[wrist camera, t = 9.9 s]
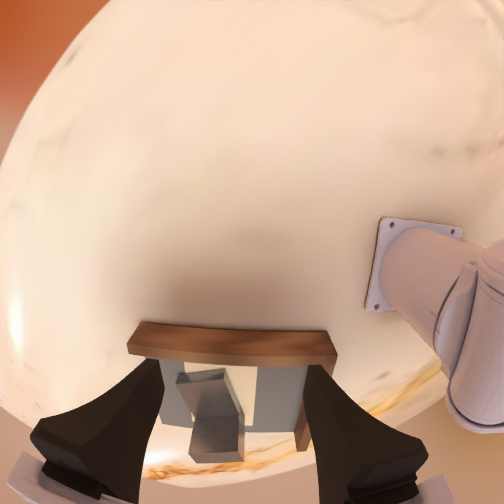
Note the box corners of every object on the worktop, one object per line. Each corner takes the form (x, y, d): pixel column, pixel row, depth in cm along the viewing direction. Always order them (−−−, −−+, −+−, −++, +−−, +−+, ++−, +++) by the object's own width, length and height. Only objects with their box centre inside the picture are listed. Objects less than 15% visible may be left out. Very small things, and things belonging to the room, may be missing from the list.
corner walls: (327, 331, 22) (337, 354, 19) (302, 428, 26) (306, 451, 22) (140, 322, 22) (126, 343, 18) (162, 421, 25) (156, 442, 22)
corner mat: (327, 331, 22) (328, 334, 21) (302, 428, 26) (302, 431, 25) (140, 322, 22) (138, 324, 21) (162, 421, 25) (162, 424, 25)
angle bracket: (244, 414, 24) (244, 461, 18) (203, 419, 24) (196, 463, 19) (224, 367, 22) (219, 418, 16) (178, 373, 23) (163, 421, 17)
